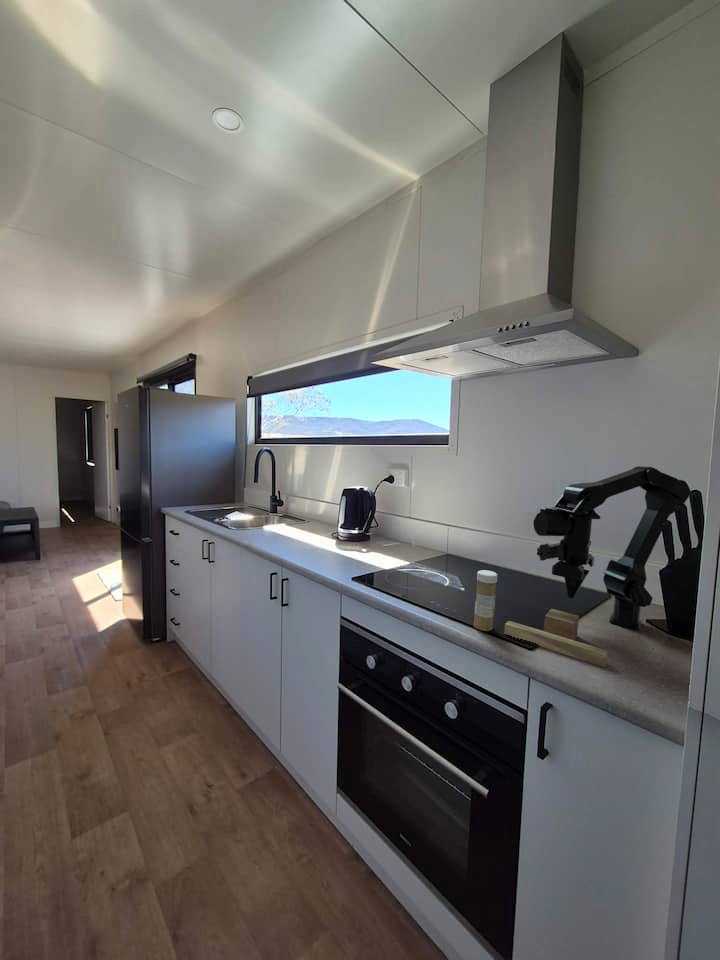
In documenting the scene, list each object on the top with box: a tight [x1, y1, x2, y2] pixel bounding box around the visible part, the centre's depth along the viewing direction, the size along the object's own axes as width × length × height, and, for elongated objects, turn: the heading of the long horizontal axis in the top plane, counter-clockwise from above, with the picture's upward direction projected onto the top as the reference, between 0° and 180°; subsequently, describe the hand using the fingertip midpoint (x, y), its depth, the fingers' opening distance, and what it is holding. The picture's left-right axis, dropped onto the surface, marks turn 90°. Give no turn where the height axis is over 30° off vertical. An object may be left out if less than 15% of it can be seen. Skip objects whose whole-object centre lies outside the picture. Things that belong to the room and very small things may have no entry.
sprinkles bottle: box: [473, 569, 498, 632], centre depth 95 cm, size 5×5×13 cm
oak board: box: [503, 620, 608, 668], centre depth 87 cm, size 2×20×2 cm, turn 52°
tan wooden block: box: [543, 608, 580, 641], centre depth 93 cm, size 6×6×5 cm
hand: (570, 598), depth 100 cm, fingers closed
